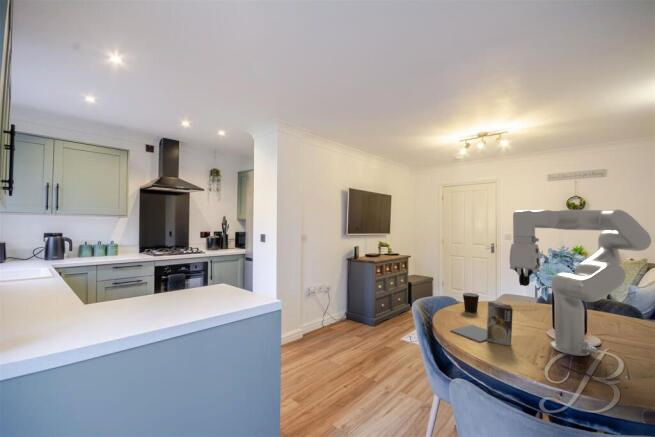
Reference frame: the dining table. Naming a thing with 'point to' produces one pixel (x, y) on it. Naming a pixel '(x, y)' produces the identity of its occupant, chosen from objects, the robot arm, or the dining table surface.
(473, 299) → the coffee mug
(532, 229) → the robot arm
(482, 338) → the mat
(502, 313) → the coffee box
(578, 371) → the fork
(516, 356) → the dining table surface
